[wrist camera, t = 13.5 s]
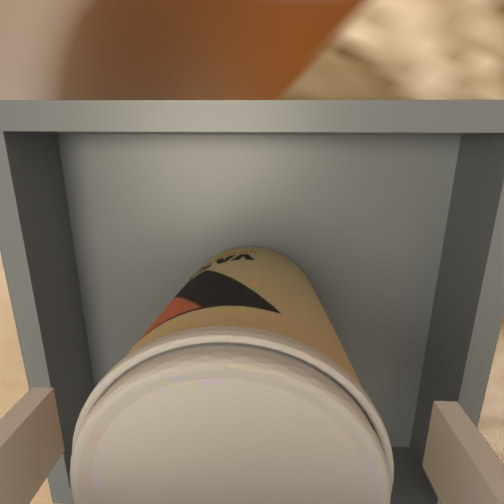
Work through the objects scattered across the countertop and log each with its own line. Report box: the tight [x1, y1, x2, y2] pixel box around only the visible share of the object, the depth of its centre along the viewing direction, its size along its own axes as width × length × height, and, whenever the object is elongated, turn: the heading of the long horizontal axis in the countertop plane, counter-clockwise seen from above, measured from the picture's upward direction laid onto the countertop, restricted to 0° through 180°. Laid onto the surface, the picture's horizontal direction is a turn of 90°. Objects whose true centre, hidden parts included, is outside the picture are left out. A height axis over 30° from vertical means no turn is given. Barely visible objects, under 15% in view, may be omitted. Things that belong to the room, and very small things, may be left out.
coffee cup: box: [70, 247, 394, 504], centre depth 15 cm, size 9×9×12 cm
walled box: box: [0, 100, 504, 504], centre depth 20 cm, size 22×23×5 cm
